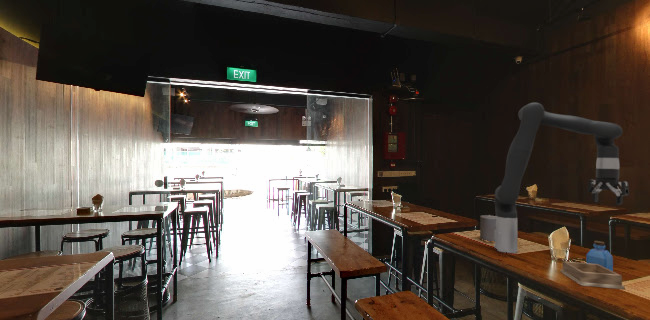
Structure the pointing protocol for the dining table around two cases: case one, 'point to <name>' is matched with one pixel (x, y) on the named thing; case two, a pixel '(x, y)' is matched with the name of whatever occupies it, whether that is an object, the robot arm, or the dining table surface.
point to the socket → (592, 275)
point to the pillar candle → (487, 227)
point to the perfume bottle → (600, 256)
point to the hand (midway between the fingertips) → (606, 203)
